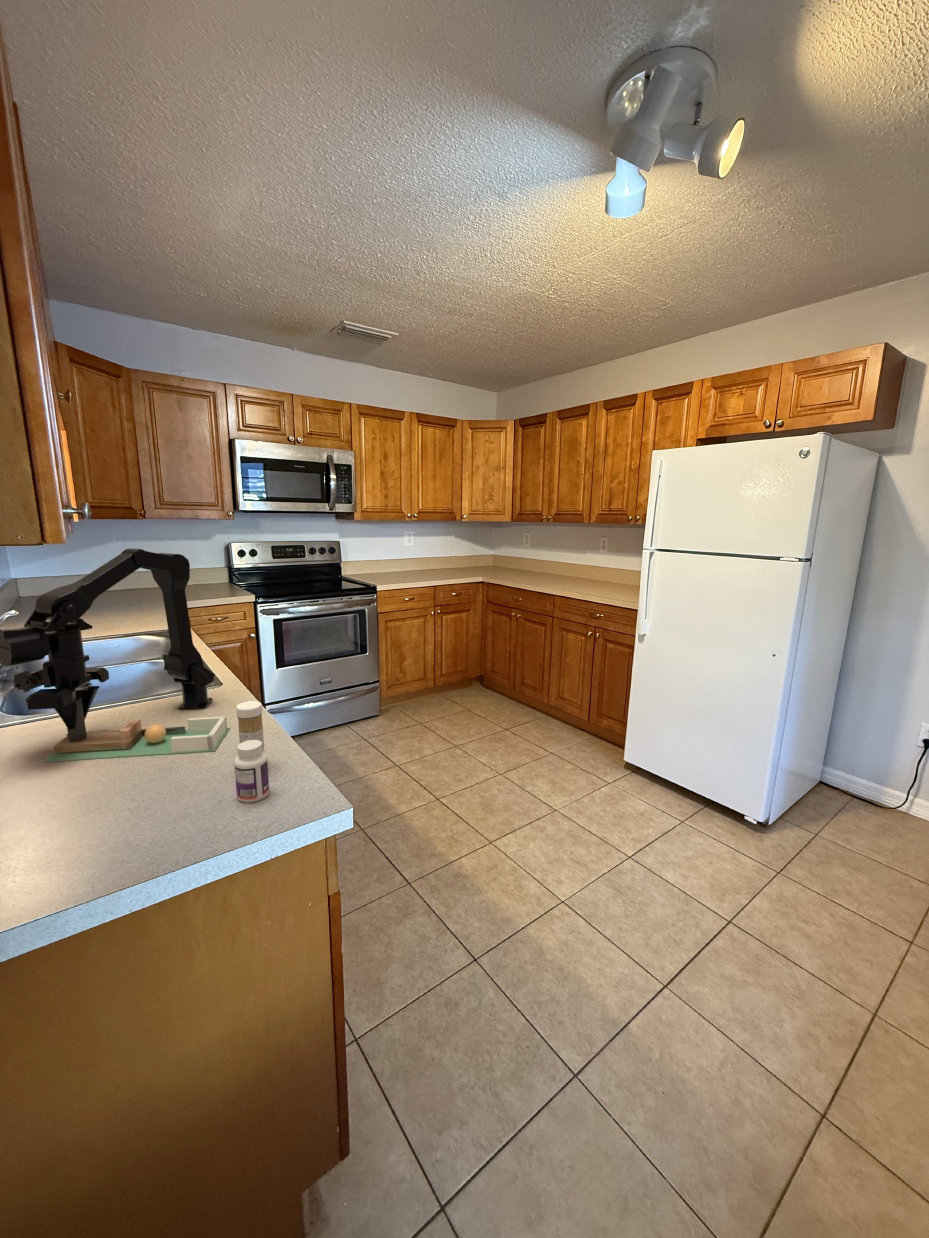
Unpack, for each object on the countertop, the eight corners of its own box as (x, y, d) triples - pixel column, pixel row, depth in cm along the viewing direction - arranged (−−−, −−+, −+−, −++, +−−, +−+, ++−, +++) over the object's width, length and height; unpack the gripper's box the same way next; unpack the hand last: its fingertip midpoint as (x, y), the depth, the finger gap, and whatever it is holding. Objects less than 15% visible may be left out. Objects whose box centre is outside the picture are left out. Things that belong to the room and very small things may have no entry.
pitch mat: (76, 736, 111) (75, 736, 111) (230, 728, 117) (229, 727, 117) (42, 762, 99) (42, 761, 99) (215, 751, 105) (215, 750, 105)
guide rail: (69, 739, 109) (68, 732, 109) (185, 732, 114) (185, 726, 113) (67, 740, 108) (66, 734, 108) (184, 734, 113) (184, 727, 113)
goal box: (189, 730, 115) (188, 718, 114) (227, 728, 116) (226, 716, 116) (171, 752, 104) (170, 738, 104) (213, 749, 106) (212, 736, 105)
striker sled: (70, 740, 108) (64, 698, 106) (142, 736, 111) (137, 695, 109) (54, 753, 102) (47, 709, 100) (130, 748, 105) (124, 705, 103)
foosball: (150, 739, 110) (148, 722, 109) (169, 737, 111) (168, 720, 110) (142, 747, 106) (140, 729, 105) (162, 745, 107) (160, 728, 106)
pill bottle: (259, 783, 93) (256, 735, 91) (275, 794, 90) (272, 743, 88) (231, 795, 89) (227, 745, 87) (246, 807, 86) (242, 754, 84)
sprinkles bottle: (261, 761, 102) (257, 698, 99) (269, 769, 98) (265, 705, 96) (237, 767, 99) (233, 703, 96) (244, 776, 95) (240, 710, 93)
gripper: (49, 643, 109) (59, 711, 112) (-14, 668, 91) (0, 747, 94) (106, 642, 111) (114, 708, 114) (55, 666, 93) (67, 744, 96)
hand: (76, 725), depth 105 cm, fingers closed on striker sled, 3 cm apart
